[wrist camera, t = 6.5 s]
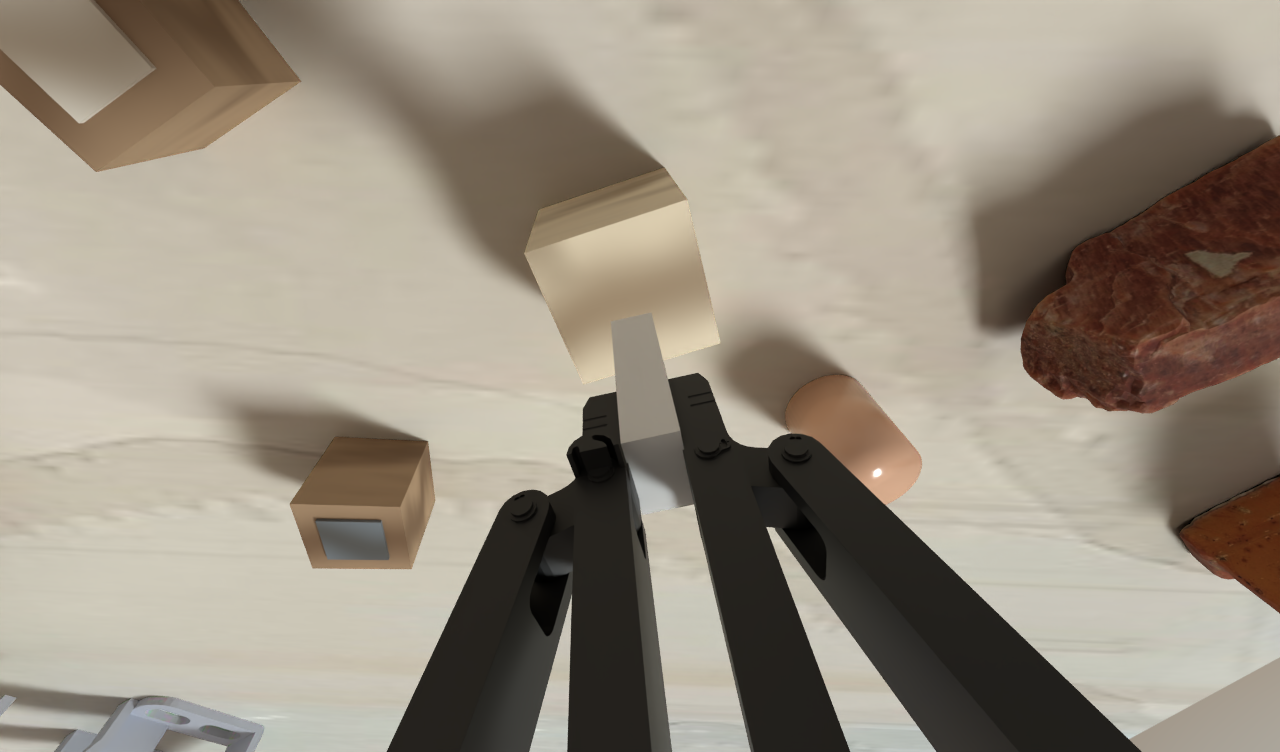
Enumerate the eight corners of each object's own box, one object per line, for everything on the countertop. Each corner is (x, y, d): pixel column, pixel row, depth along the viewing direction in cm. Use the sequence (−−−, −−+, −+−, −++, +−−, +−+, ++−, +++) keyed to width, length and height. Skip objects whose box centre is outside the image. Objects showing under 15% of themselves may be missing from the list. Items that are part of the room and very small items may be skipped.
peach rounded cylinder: (783, 384, 33) (824, 453, 28) (868, 366, 33) (928, 431, 27) (786, 447, 37) (823, 519, 31) (863, 430, 36) (915, 500, 31)
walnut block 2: (335, 436, 32) (287, 506, 27) (428, 440, 33) (399, 509, 28) (351, 497, 36) (311, 571, 30) (435, 499, 37) (410, 571, 31)
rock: (1002, 364, 34) (1117, 452, 27) (975, 305, 31) (1096, 385, 24) (1301, 189, 29) (1552, 239, 21) (1304, 96, 26) (1598, 115, 18)
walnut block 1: (69, 3, 19) (-119, -18, 14) (174, -83, 18) (12, -140, 13) (205, 147, 23) (91, 173, 17) (301, 81, 21) (211, 86, 16)
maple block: (538, 209, 25) (524, 253, 20) (664, 167, 25) (687, 199, 19) (584, 320, 29) (583, 384, 23) (694, 286, 29) (720, 343, 23)
